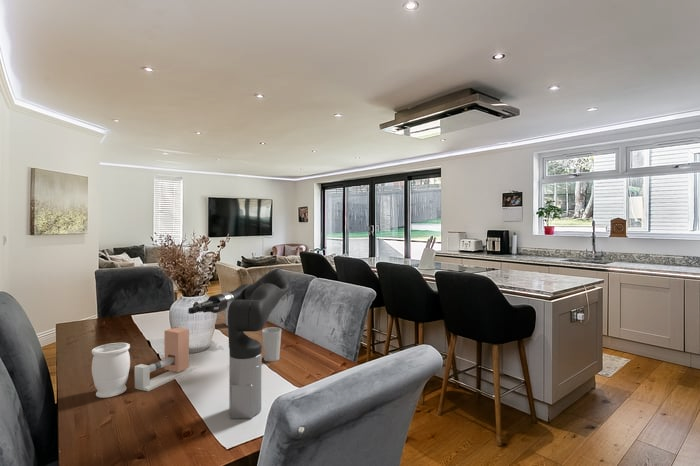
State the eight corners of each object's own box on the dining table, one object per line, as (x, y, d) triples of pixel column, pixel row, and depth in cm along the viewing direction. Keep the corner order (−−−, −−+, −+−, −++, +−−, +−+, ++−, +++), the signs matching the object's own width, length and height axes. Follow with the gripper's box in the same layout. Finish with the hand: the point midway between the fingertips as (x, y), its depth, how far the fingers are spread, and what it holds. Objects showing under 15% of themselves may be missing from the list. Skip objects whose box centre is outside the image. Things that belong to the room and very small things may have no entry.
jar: (123, 382, 129) (123, 340, 128) (135, 391, 122) (135, 346, 122) (87, 393, 121) (87, 347, 120) (98, 403, 114) (97, 355, 114)
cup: (276, 362, 149) (277, 333, 148) (258, 361, 150) (258, 332, 150) (284, 356, 156) (284, 327, 156) (266, 354, 158) (266, 326, 158)
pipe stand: (184, 366, 144) (184, 347, 144) (196, 368, 142) (196, 349, 142) (134, 388, 124) (134, 366, 124) (147, 391, 122) (147, 369, 122)
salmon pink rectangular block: (175, 364, 142) (175, 327, 141) (188, 367, 139) (188, 329, 139) (164, 369, 137) (164, 330, 137) (178, 372, 135) (178, 332, 134)
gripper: (209, 292, 162) (177, 300, 146) (233, 295, 157) (202, 303, 141) (209, 309, 162) (177, 318, 146) (233, 312, 157) (202, 322, 141)
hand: (189, 311), depth 144 cm, fingers closed
